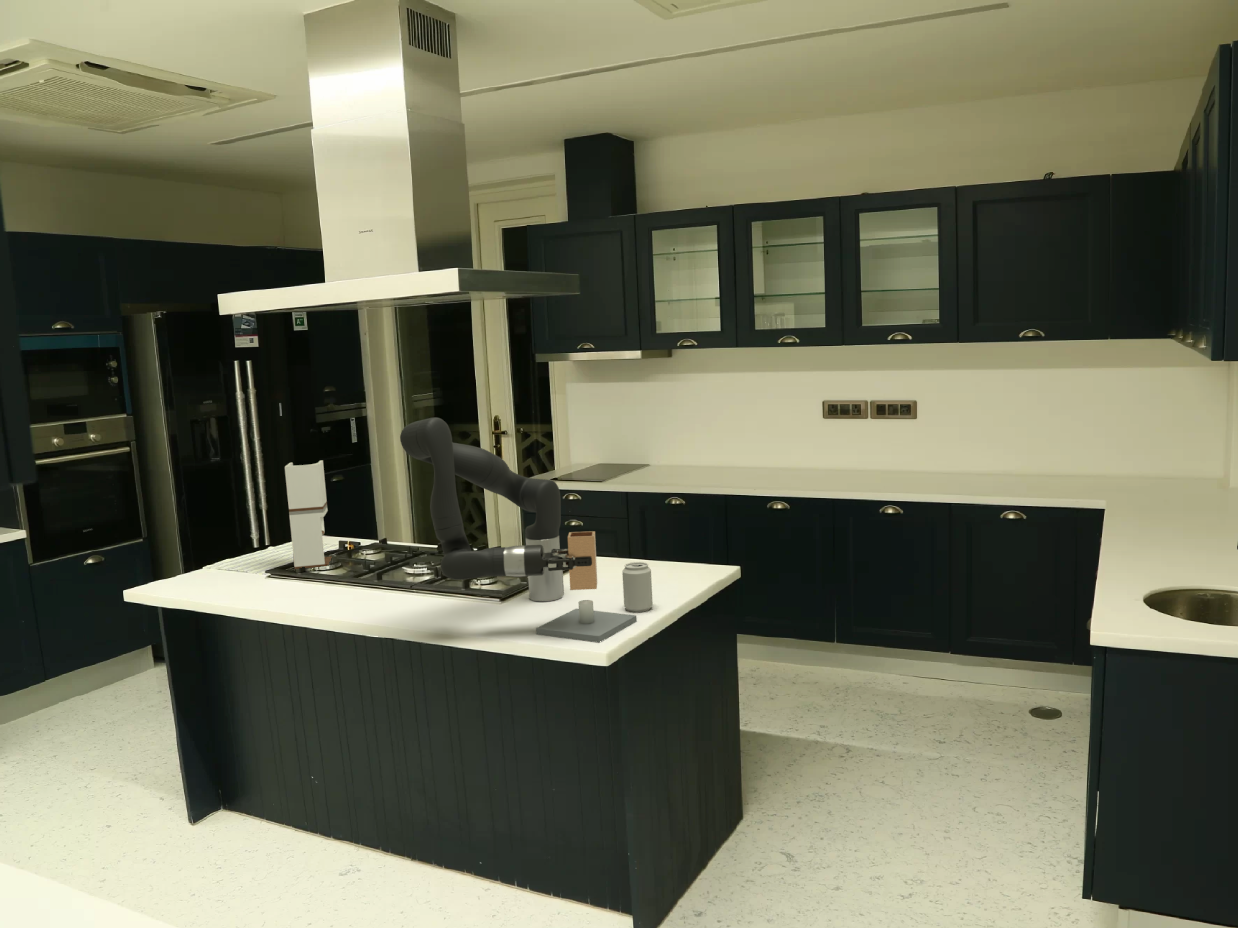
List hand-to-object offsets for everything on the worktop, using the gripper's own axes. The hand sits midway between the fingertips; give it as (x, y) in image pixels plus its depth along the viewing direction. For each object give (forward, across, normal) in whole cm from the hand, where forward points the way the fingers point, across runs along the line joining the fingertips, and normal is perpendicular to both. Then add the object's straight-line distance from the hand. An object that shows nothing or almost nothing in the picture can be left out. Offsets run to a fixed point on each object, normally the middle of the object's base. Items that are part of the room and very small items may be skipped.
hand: (592, 557), depth 238 cm
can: (+11, +15, +18) cm, 25 cm away
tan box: (-2, 0, +7) cm, 7 cm away
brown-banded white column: (-96, +83, +18) cm, 128 cm away
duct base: (-2, 0, +18) cm, 18 cm away
